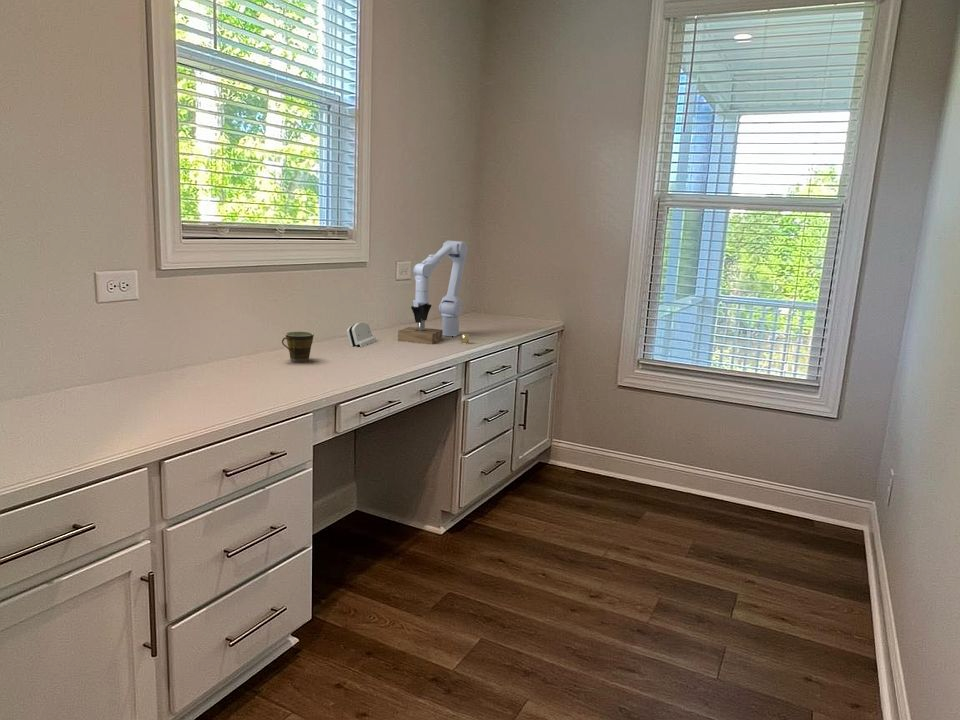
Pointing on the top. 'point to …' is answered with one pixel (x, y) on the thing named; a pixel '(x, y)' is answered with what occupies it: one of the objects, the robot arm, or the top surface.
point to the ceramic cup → (299, 345)
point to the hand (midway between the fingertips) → (421, 321)
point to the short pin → (465, 338)
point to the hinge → (360, 334)
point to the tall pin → (421, 326)
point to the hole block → (420, 335)
